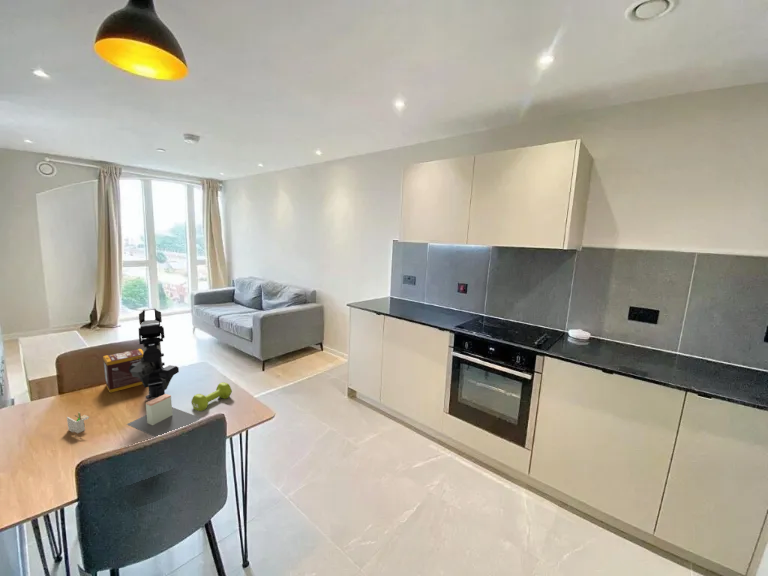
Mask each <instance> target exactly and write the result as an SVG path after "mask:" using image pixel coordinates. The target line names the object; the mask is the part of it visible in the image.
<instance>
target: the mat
mask: <svg viewBox="0 0 768 576" xmlns="http://www.w3.org/2000/svg"><path fill="white" fill-rule="evenodd" d="M199 420H202V417H200V416H198V415H196V414H192V413H190V412H187V411H184V410H182V409H178V408H175V407H174V406H173V407H172V416H170V417H168V418H166V419H164V420H162V421H160V422H158V423H156V424H154V425H151V424H148V423H147V414H145V415H143V416H141V417H139V418H136V419H135V420H133V421H130V422H129V423H127V424H126V425H128V426H130V427H131V428H134V429H136V430H139V431H141V432H143V433H146V434H148V435H151V436H153V437H155V438H157V437H156V436H158V435H162V434H164V433H167V432H169V431H172V430H175V429H178V428H180V427H183V426H186V425H189V424H191V423H192V424H194V423H196V422H197V421H199ZM193 422H194V423H193ZM192 424H191V425H192ZM189 426H190V425H189Z"/></svg>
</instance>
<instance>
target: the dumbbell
mask: <svg viewBox="0 0 768 576" xmlns="http://www.w3.org/2000/svg"><path fill="white" fill-rule="evenodd" d="M232 392H233V390H232V387H231V385H230V383H227V382H224V381H223V382H220V383H219V384H217V387H216V389H215V391H212V392H210V393H209V394H207V395H204V394H202V393H196V394H194V395H193V397H192V399H191V405H192V408H193V409H194V410H195V411H199V412H203V411H205V410H206V409H207V407H208V405H209V403H210V402H212V401H214V400H216V399H218V398H220V399H224V400H226V399H228V398H230V396H231V395H232Z"/></svg>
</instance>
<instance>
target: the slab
mask: <svg viewBox="0 0 768 576" xmlns="http://www.w3.org/2000/svg"><path fill="white" fill-rule="evenodd" d="M172 405H173V404H172V395H171V394H168V393H165V394H164V395H162V396H160V397H155V398H152V399H151V400H150V399H149V400H148V401H146V402H145V410H146V415H147V423H148V424H151V425H154V424H156V423H158V422H160V421H162V420H164V419H166V418H168V417H170V416H172Z"/></svg>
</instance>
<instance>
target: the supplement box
mask: <svg viewBox="0 0 768 576" xmlns="http://www.w3.org/2000/svg"><path fill="white" fill-rule="evenodd" d="M142 357H143V349H142V348H136V349H132V350H126V351H122V352H118V353H117V352H116V353H113V354H112V353H111V354H107V355H103V356H102V361H103V369H104V379H105V386H106V388H107V390H108V392H109V393H110V394H111V393H115V392H119V391H122V390H126V389H129V388H133V387H138V386H141V385H143V383H142V382H141V380H140V378H138V377H133V375H132V373H130V372H129V367H130V366H131V365H132V364H135V363H137V362H139V361H141V359H142Z"/></svg>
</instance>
